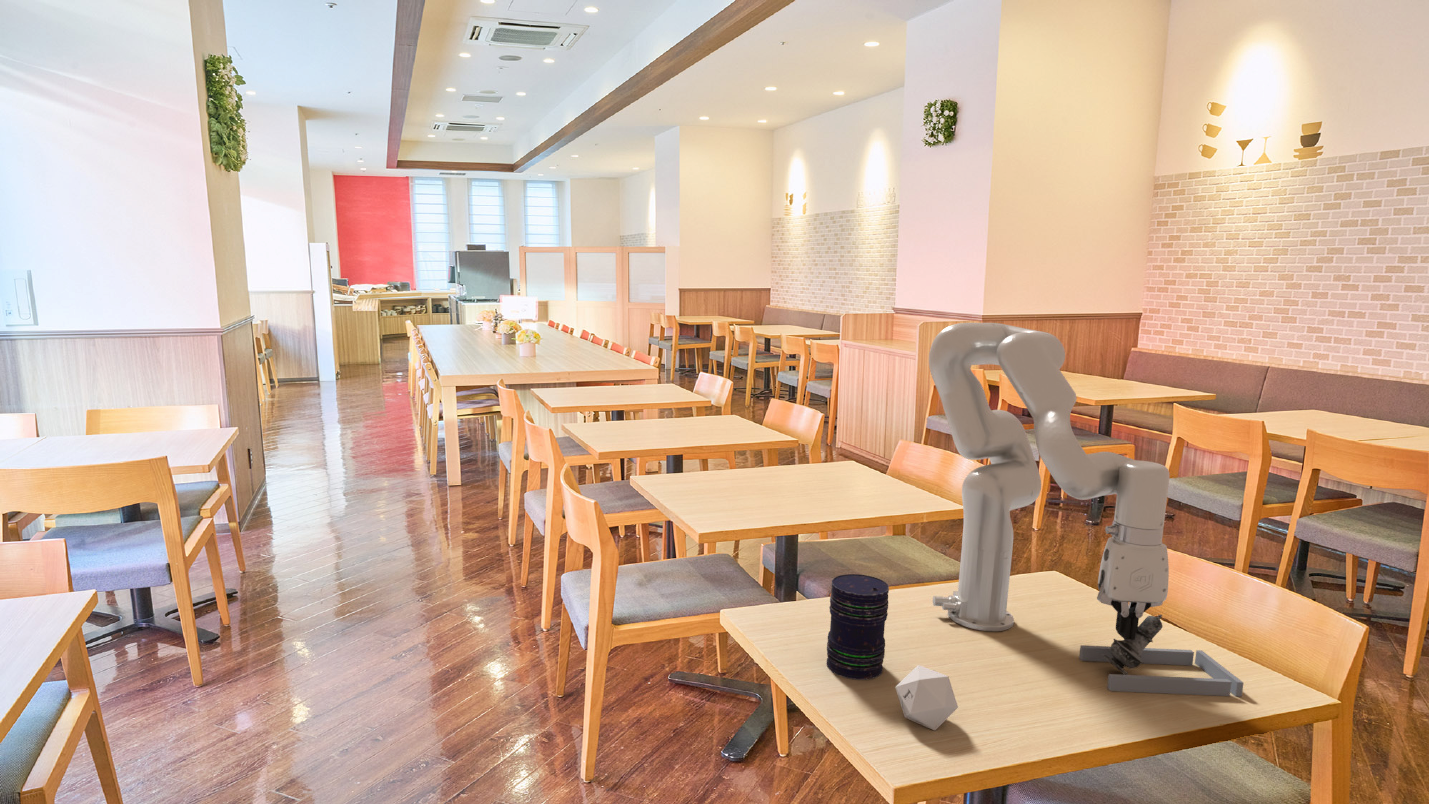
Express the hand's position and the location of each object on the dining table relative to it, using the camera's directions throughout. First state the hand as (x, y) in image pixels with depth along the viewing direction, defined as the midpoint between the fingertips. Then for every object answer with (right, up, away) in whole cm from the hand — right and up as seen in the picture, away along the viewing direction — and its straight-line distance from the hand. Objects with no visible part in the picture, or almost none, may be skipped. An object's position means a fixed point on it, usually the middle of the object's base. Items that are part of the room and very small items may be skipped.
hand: (1125, 636), depth 142 cm
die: (-39, -8, -16) cm, 43 cm away
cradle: (+5, -7, +1) cm, 9 cm away
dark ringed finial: (-1, -6, +1) cm, 6 cm away
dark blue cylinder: (-47, -6, 0) cm, 47 cm away
